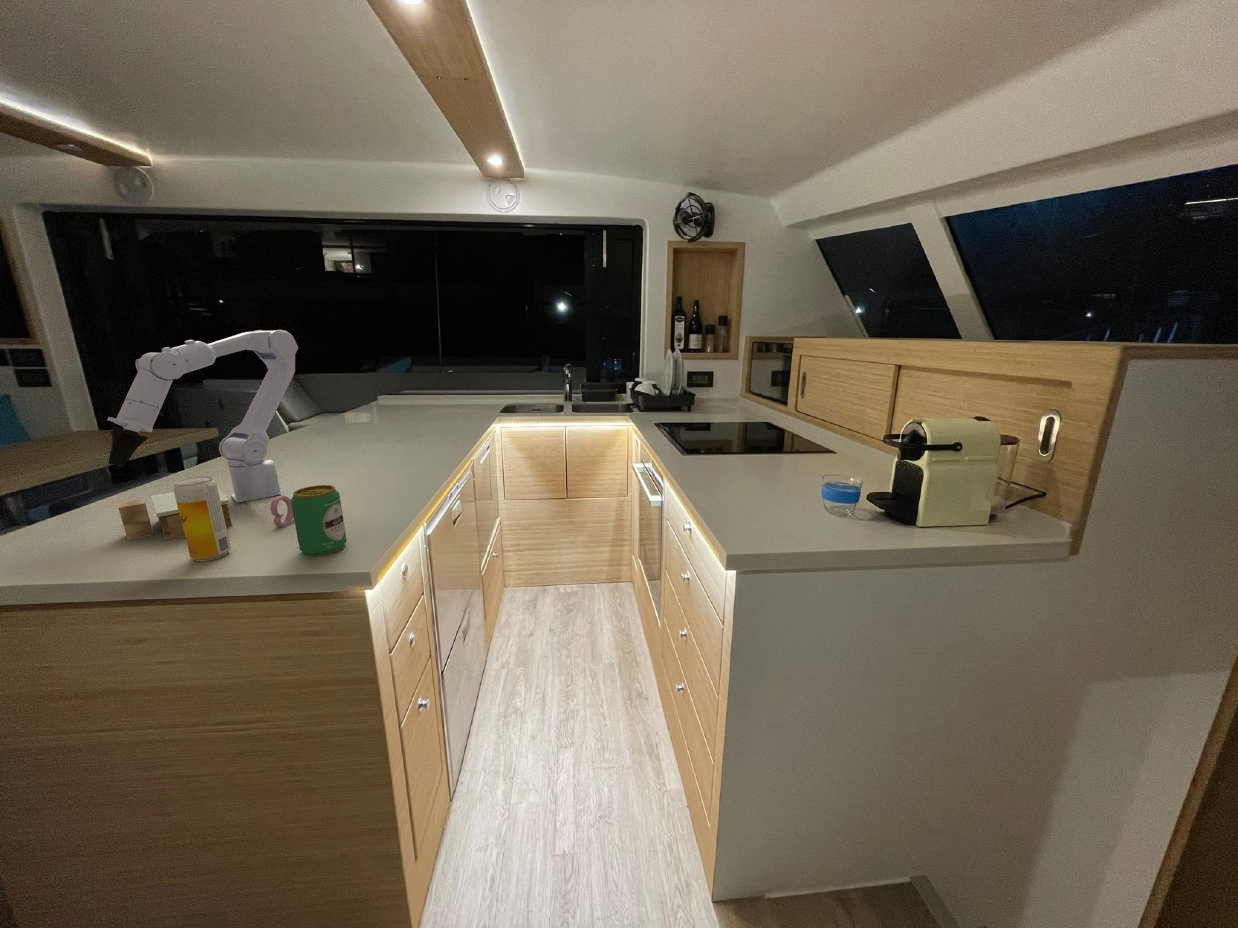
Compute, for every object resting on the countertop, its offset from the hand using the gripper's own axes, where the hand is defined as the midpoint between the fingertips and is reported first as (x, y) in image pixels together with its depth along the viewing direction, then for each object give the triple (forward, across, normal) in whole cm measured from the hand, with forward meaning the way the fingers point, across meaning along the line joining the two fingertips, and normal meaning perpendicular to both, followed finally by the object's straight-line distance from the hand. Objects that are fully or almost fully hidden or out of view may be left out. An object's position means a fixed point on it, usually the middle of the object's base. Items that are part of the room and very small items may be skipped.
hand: (115, 465), depth 104 cm
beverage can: (+8, +38, +32) cm, 50 cm away
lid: (+4, +3, +13) cm, 14 cm away
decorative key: (+2, +13, +33) cm, 36 cm away
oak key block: (+13, +2, +8) cm, 15 cm away
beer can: (+13, +26, +17) cm, 33 cm away
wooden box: (+8, +2, +16) cm, 18 cm away
